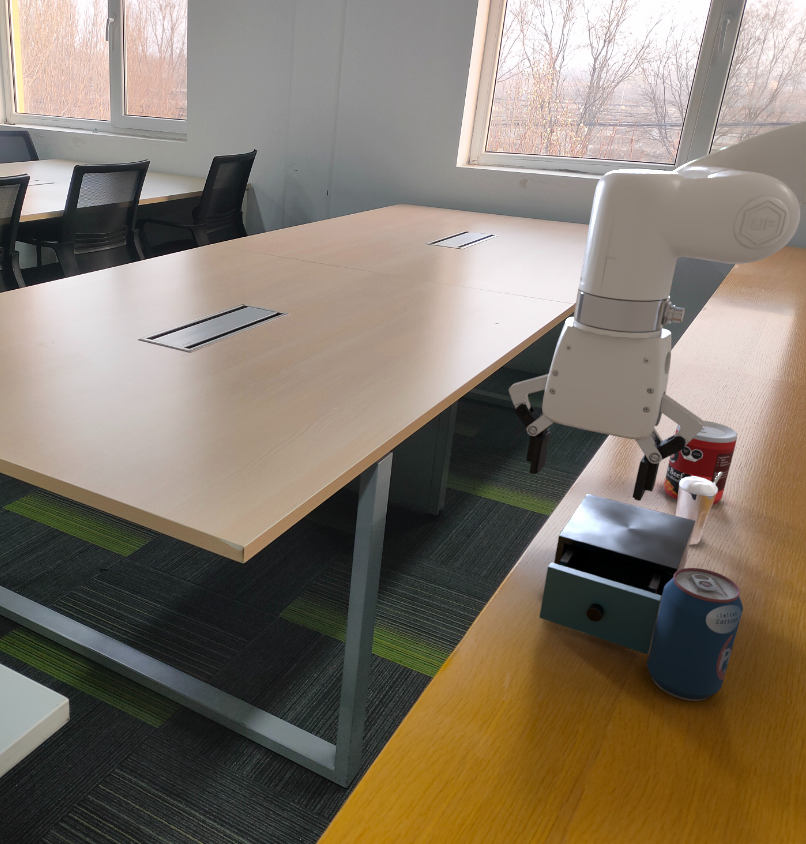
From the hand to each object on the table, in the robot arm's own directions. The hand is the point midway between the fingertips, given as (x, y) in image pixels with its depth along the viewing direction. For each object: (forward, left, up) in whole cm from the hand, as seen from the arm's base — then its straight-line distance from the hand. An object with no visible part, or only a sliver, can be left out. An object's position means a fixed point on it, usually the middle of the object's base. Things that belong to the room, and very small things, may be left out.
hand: (586, 481), depth 79 cm
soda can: (-12, +1, -21) cm, 24 cm away
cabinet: (-9, -15, -21) cm, 27 cm away
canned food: (-25, -46, -21) cm, 57 cm away
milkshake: (-21, -31, -21) cm, 43 cm away
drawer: (-6, -9, -20) cm, 22 cm away
